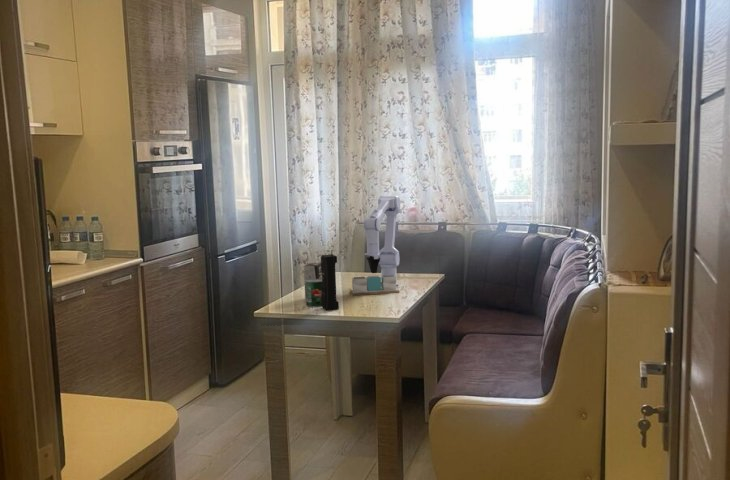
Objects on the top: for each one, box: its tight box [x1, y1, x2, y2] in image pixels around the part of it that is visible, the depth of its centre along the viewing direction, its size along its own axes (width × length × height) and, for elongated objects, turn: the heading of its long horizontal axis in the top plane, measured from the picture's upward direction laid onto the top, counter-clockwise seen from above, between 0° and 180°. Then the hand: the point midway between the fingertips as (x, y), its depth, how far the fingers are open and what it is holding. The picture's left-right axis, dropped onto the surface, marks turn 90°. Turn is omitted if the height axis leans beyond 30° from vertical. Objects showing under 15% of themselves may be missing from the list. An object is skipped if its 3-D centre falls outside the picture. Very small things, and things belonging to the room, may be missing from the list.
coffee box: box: [303, 262, 322, 302], centre depth 310 cm, size 9×6×16 cm
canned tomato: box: [304, 279, 322, 308], centre depth 297 cm, size 8×8×11 cm
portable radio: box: [320, 249, 340, 312], centre depth 288 cm, size 8×6×25 cm
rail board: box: [349, 275, 400, 297], centre depth 322 cm, size 9×22×8 cm, turn 100°
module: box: [365, 275, 382, 291], centre depth 322 cm, size 4×6×6 cm
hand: (373, 272), depth 322 cm, fingers closed
